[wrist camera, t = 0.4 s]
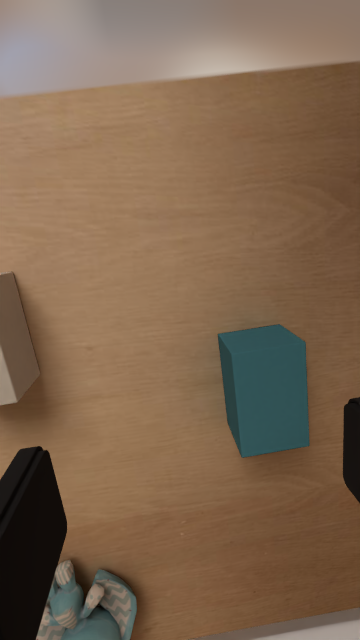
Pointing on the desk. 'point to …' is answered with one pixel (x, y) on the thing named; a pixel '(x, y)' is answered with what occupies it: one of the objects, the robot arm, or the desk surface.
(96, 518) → the desk surface
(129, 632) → the stuffed animal
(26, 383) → the cream pad
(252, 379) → the teal pad
